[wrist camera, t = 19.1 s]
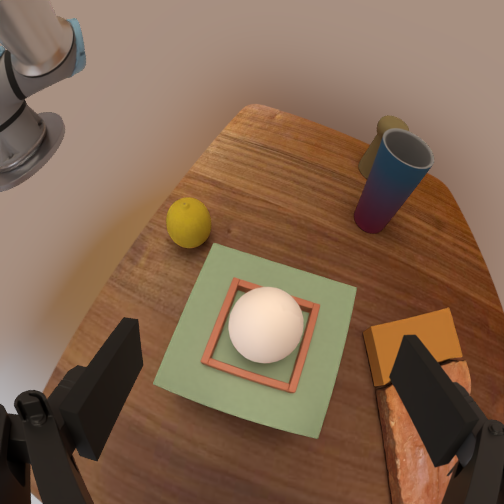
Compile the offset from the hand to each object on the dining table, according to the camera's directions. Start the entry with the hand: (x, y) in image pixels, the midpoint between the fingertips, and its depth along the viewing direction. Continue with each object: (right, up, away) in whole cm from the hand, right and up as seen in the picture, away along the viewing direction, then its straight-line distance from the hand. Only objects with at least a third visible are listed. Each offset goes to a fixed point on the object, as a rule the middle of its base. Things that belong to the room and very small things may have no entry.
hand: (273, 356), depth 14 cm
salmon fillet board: (+21, -18, +16) cm, 32 cm away
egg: (0, -2, +11) cm, 12 cm away
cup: (+16, +10, +31) cm, 36 cm away
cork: (+20, +19, +36) cm, 45 cm away
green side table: (-1, -7, +20) cm, 22 cm away
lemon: (-9, +6, +28) cm, 30 cm away
